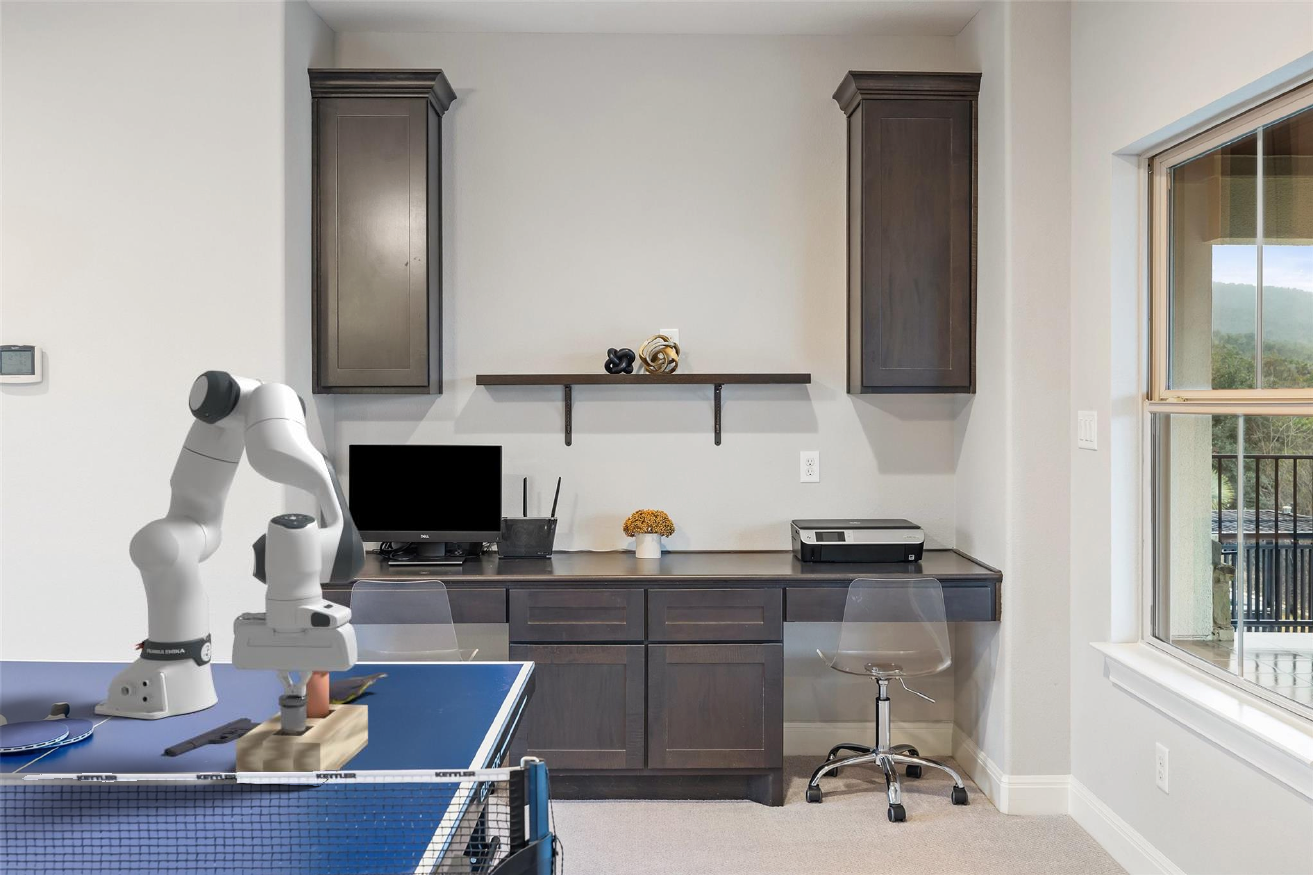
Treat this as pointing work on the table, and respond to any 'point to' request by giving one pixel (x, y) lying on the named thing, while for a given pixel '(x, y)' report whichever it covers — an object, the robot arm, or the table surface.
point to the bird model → (350, 687)
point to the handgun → (214, 736)
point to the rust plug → (318, 695)
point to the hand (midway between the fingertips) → (295, 695)
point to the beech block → (305, 743)
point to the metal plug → (293, 715)
